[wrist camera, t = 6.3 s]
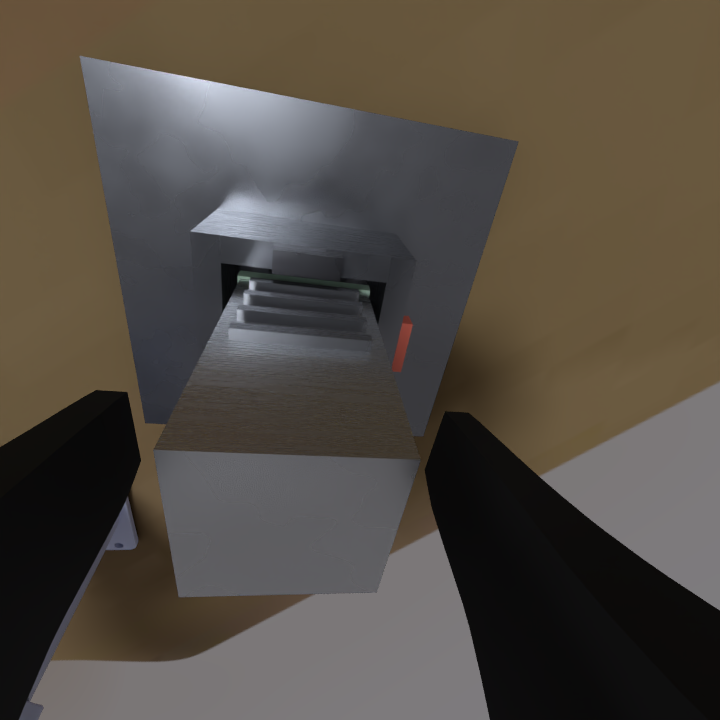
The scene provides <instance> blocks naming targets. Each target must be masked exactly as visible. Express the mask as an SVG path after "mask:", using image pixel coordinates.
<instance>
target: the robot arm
mask: <svg viewBox="0 0 720 720" xmlns="http://www.w3.org/2000/svg"><path fill="white" fill-rule="evenodd" d="M140 462H141V458H140V453H139V448H138V443H137V438H136V433H135V428H134V423H133V418H132V413H131V408H130V403H129V398H128V393H127V392H117V391H101V390H96V391H94V392H92V393H90V394H88V395H87V396H85V397H83V398H81V399H80V400H78V401H76V402H74V403H73V404H71V405H69V406H68V407H66V408H64V409H63V410H61V411H59V412H58V413H56V414H55V415H53V416H51V417H50V418H48V419H46V420H45V421H43V422H41V423H40V424H38V425H37V426H35V427H33V428H32V429H30V430H28V431H27V432H25V433H23V434H22V435H20V436H18V437H17V438H15V439H13V440H12V441H10V442H8V443H7V444H5V445H3V446H1V447H0V720H38V719H39V716H40V714H41V712H42V710H43V706H42V705H39V704H35V703H32V702H30V700H31V698H32V696H33V694H34V692H35V690H36V688H37V686H38V684H39V682H40V680H41V678H42V676H43V674H44V672H45V670H46V668H47V666H48V664H49V662H50V660H51V658H52V656H53V654H54V652H55V650H56V648H57V646H58V644H59V642H60V640H61V638H62V636H63V634H64V632H65V630H66V628H67V626H68V624H69V622H70V620H71V618H72V616H73V614H74V612H75V610H76V608H77V606H78V604H79V602H80V600H81V598H82V596H83V594H84V592H85V590H86V588H87V586H88V584H89V582H90V580H91V578H92V576H93V574H94V572H95V570H96V568H97V566H98V564H99V562H100V560H101V558H102V556H103V554H104V552H105V550H132V549H134V548H135V547H136V546H137V544H138V536H137V532H136V528H135V524H134V520H133V516H132V512H131V507H130V503H129V499H128V494H129V491H130V489H131V486H132V484H133V481H134V478H135V476H136V473H137V470H138V467H139V465H140ZM425 474H426V480H427V485H428V491H429V496H430V501H431V506H432V510H433V513H434V516H435V520H436V523H437V526H438V529H439V532H440V535H441V539H442V541H443V545H444V548H445V551H446V554H447V557H448V560H449V563H450V566H451V569H452V572H453V575H454V578H455V581H456V584H457V587H458V591H459V594H460V597H461V600H462V603H463V606H464V609H465V613H466V617H467V620H468V624H469V627H470V631H471V636H472V640H473V644H474V649H475V653H476V657H477V662H478V666H479V670H480V675H481V679H482V683H483V688H484V693H485V698H486V703H487V708H488V712H489V717H490V720H720V610H718V609H716V608H715V607H713V606H712V605H710V604H709V603H707V602H706V601H704V600H703V599H701V598H700V597H698V596H697V595H695V594H693V593H692V592H691V591H689V590H688V589H686V588H685V587H683V586H681V585H680V584H678V583H677V582H675V581H674V580H672V579H671V578H669V577H668V576H666V575H665V574H664V573H662V572H661V571H659V570H658V569H656V568H655V567H653V566H652V565H650V564H649V563H648V562H646V561H645V560H643V559H642V558H641V557H639V556H638V555H636V554H635V553H634V552H633V551H631V550H630V549H628V548H627V547H626V546H624V545H623V544H622V543H620V542H619V541H618V540H616V539H615V538H614V537H612V536H611V535H609V534H608V533H607V532H605V531H604V530H603V529H602V528H600V527H599V526H597V525H596V524H595V523H594V522H593V521H591V520H590V519H589V518H587V517H586V516H585V515H584V514H582V513H581V512H580V511H579V510H578V509H577V508H575V507H574V506H573V505H572V504H571V503H569V502H568V501H567V500H566V499H564V498H563V497H562V496H561V495H560V494H558V493H557V492H556V491H555V490H554V489H552V487H550V486H549V485H548V484H547V483H546V482H545V481H543V480H542V479H541V478H540V477H539V476H538V475H537V474H536V473H534V472H533V471H532V470H531V469H530V468H529V467H528V466H527V465H526V464H524V463H523V462H522V461H521V460H520V459H519V458H518V457H517V456H516V455H515V454H514V453H512V452H511V451H510V450H509V449H508V448H507V447H506V446H505V445H504V444H503V443H502V442H501V441H499V440H498V439H497V438H496V437H495V436H494V435H493V434H492V433H491V432H490V431H489V430H488V429H486V428H485V427H484V426H483V425H482V424H481V423H480V422H479V421H477V420H476V419H475V418H474V417H473V416H472V415H470V414H469V413H464V412H447V411H445V413H444V416H443V419H442V422H441V424H440V427H439V430H438V433H437V436H436V439H435V442H434V445H433V447H432V450H431V453H430V456H429V459H428V462H427V465H426V468H425Z"/></svg>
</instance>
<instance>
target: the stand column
mask: <svg viewBox="0 0 720 720" xmlns="http://www.w3.org/2000/svg"><path fill="white" fill-rule="evenodd" d="M237 280H238V284H237V286H236V288H235V290H234V292H233V294H232V296H231V298H230V300H229V302H228V303H227V305H226V307H225V309H224V311H223V313H222V315H221V317H220V319H219V321H218V323H217V325H216V327H215V329H214V331H213V333H212V335H211V337H210V339H209V341H208V343H207V345H206V347H205V349H204V351H203V353H202V355H201V357H200V359H199V361H198V363H197V365H196V367H195V369H194V371H193V373H192V375H191V377H190V378H189V380H188V382H187V384H186V386H185V388H184V390H183V392H182V394H181V396H180V398H179V400H178V402H177V404H176V406H175V408H174V410H173V412H172V414H171V416H170V418H169V420H168V422H167V424H166V426H165V428H164V430H163V432H162V434H161V436H160V438H159V440H158V442H157V444H156V446H155V448H154V450H153V451H154V457H155V462H156V468H157V474H158V480H159V486H160V491H161V497H162V503H163V509H164V515H165V520H166V526H167V532H168V538H169V544H170V549H171V555H172V561H173V567H174V573H175V578H176V584H177V590H178V596H179V597H209V596H250V595H290V594H331V593H371V592H377V589H378V586H379V584H380V581H381V578H382V575H383V571H384V568H385V566H386V562H387V560H388V557H389V554H390V551H391V548H392V545H393V542H394V539H395V536H396V533H397V530H398V527H399V524H400V521H401V518H402V515H403V512H404V509H405V506H406V503H407V500H408V497H409V494H410V491H411V488H412V485H413V482H414V479H415V476H416V473H417V470H418V467H419V464H420V461H421V459H420V456H419V453H418V449H417V446H416V443H415V440H414V437H413V434H412V431H411V428H410V424H409V421H408V418H407V415H406V412H405V409H404V406H403V402H402V399H401V396H400V393H399V390H398V387H397V384H396V381H395V377H394V374H393V371H392V368H391V365H390V362H389V359H388V355H387V352H386V349H385V346H384V343H383V340H382V337H381V333H380V330H379V327H378V324H377V321H376V318H375V315H374V312H373V308H372V305H371V302H370V299H369V295H370V288H369V285H363V284H354V283H346V282H337V281H329V280H320V279H311V278H303V277H294V276H286V275H277V274H268V273H260V272H251V271H241V270H240V272H239V274H238V276H237Z"/></svg>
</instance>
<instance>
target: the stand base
mask: <svg viewBox="0 0 720 720" xmlns="http://www.w3.org/2000/svg"><path fill="white" fill-rule="evenodd" d="M80 60H81V65H82V71H83V77H84V82H85V88H86V93H87V99H88V105H89V110H90V116H91V121H92V127H93V133H94V138H95V144H96V149H97V155H98V161H99V166H100V172H101V177H102V183H103V189H104V194H105V200H106V205H107V211H108V217H109V222H110V228H111V233H112V239H113V245H114V250H115V256H116V261H117V267H118V273H119V278H120V284H121V289H122V295H123V301H124V306H125V312H126V317H127V323H128V329H129V334H130V340H131V345H132V351H133V357H134V362H135V368H136V373H137V379H138V385H139V390H140V396H141V401H142V407H143V413H144V418H145V423H154V424H167V422H168V420H169V418H170V416H171V414H172V412H173V410H174V408H175V406H176V404H177V402H178V400H179V398H180V396H181V394H182V392H183V390H184V388H185V386H186V384H187V382H188V380H189V378H190V377H191V375H192V373H193V371H194V369H195V367H196V365H197V363H198V361H199V359H200V357H201V355H202V353H203V351H204V349H205V347H206V345H207V343H208V341H209V339H210V337H211V335H212V333H213V331H214V329H215V327H216V325H217V323H218V321H219V319H220V317H221V315H222V313H223V311H224V309H225V307H226V305H227V303H228V302H229V300H230V298H231V296H232V294H233V292H234V290H235V288H236V286H237V284H238V280H237V276H238V274H239V272H240V270H241V271H251V272H260V273H268V274H277V275H286V276H294V277H303V278H311V279H320V280H329V281H337V282H346V283H354V284H363V285H369V288H370V295H369V299H370V302H371V305H372V308H373V312H374V315H375V318H376V321H377V324H378V327H379V330H380V333H381V337H382V340H383V343H384V346H385V349H386V352H387V355H388V359H389V362H390V365H391V368H392V371H393V374H394V377H395V381H396V384H397V387H398V390H399V393H400V396H401V399H402V402H403V406H404V409H405V412H406V415H407V418H408V421H409V424H410V428H411V431H412V434H413V436H423V435H424V432H425V429H426V426H427V423H428V420H429V417H430V414H431V411H432V408H433V404H434V401H435V398H436V395H437V392H438V389H439V386H440V383H441V380H442V377H443V374H444V370H445V367H446V364H447V361H448V358H449V355H450V352H451V349H452V346H453V343H454V340H455V336H456V333H457V330H458V327H459V324H460V321H461V318H462V315H463V312H464V309H465V306H466V302H467V299H468V296H469V293H470V290H471V287H472V284H473V281H474V278H475V275H476V272H477V268H478V265H479V262H480V259H481V256H482V253H483V250H484V247H485V244H486V241H487V238H488V234H489V231H490V228H491V225H492V222H493V219H494V216H495V213H496V210H497V207H498V204H499V201H500V197H501V194H502V191H503V188H504V185H505V182H506V179H507V176H508V173H509V170H510V167H511V163H512V160H513V157H514V154H515V151H516V148H517V145H518V141H513V140H508V139H502V138H497V137H492V136H487V135H482V134H477V133H472V132H467V131H462V130H456V129H451V128H446V127H441V126H436V125H431V124H426V123H421V122H415V121H410V120H405V119H400V118H395V117H390V116H385V115H380V114H375V113H369V112H364V111H359V110H354V109H349V108H344V107H339V106H334V105H328V104H323V103H318V102H313V101H308V100H303V99H298V98H293V97H288V96H282V95H277V94H272V93H267V92H262V91H257V90H252V89H247V88H241V87H236V86H231V85H226V84H221V83H216V82H211V81H206V80H201V79H195V78H190V77H185V76H180V75H175V74H170V73H165V72H160V71H155V70H149V69H144V68H139V67H134V66H129V65H124V64H119V63H114V62H108V61H103V60H98V59H93V58H88V57H83V56H80Z"/></svg>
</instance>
